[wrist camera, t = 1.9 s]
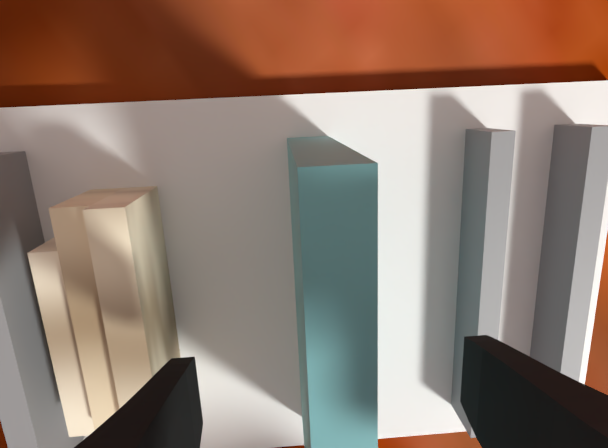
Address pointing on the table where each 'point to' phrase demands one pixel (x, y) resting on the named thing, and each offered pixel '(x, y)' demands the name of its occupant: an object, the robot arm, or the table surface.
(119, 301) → the offcut stack
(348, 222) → the teal rectangular block
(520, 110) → the rack
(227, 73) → the table surface
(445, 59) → the table surface
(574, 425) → the robot arm
